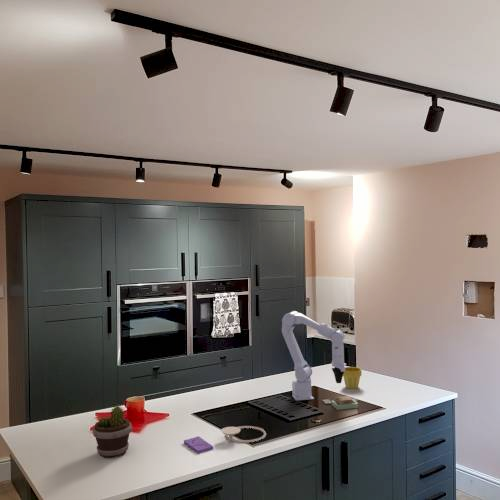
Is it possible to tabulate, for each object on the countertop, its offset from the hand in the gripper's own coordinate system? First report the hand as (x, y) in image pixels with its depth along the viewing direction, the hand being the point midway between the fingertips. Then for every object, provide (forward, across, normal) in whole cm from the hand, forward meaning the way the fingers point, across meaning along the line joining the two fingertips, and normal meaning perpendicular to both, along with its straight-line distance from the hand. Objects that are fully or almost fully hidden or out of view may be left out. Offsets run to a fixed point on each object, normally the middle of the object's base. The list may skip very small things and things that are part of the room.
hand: (338, 382), depth 254 cm
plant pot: (+9, +22, -15) cm, 28 cm away
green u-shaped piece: (+9, -5, 0) cm, 10 cm away
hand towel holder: (+10, -34, +54) cm, 64 cm away
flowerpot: (+10, -39, +105) cm, 112 cm away
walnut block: (+9, -8, 0) cm, 12 cm away
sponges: (+10, -40, +72) cm, 83 cm away
